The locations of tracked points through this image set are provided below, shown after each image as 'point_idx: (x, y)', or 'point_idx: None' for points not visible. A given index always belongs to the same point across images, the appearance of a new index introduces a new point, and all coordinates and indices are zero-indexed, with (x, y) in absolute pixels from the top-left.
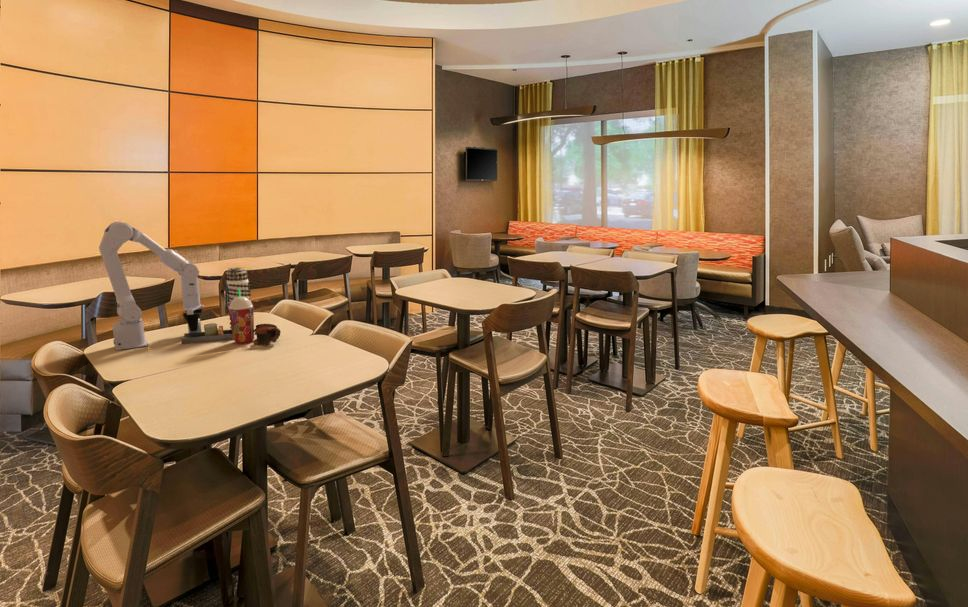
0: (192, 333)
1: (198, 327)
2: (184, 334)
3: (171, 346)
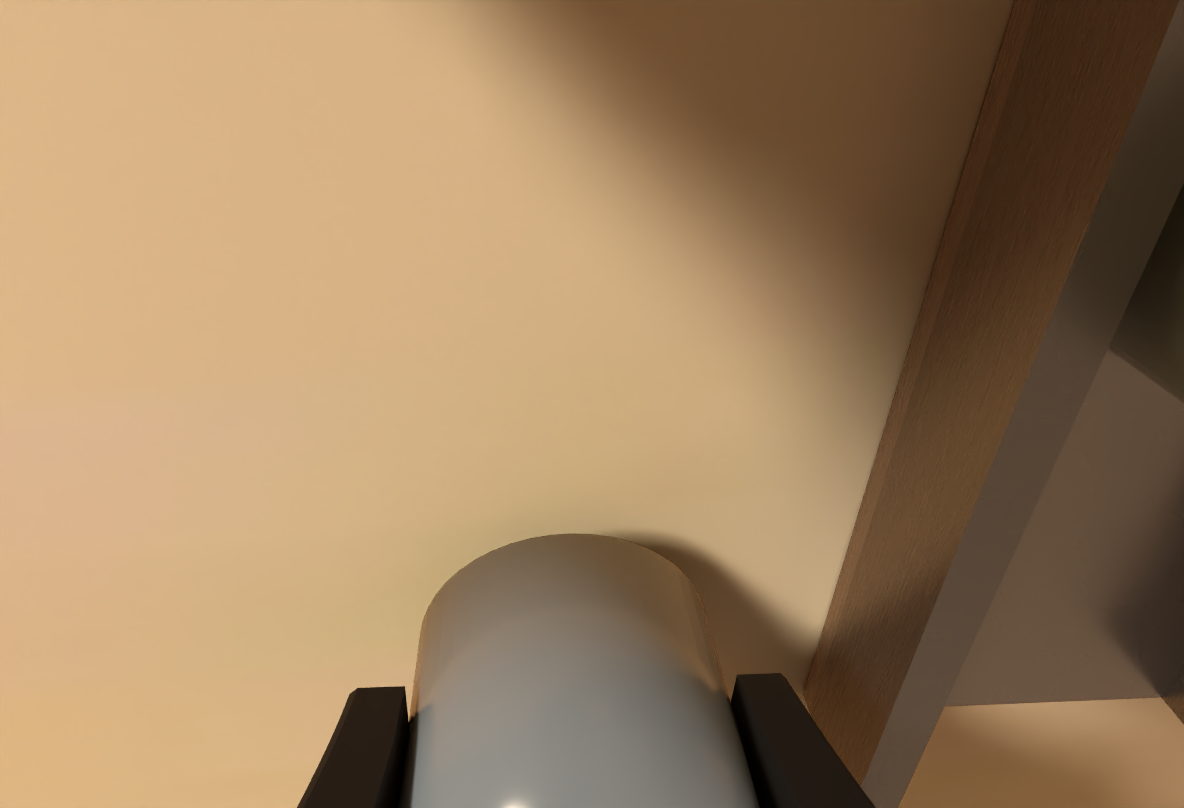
0: (942, 700)
1: (714, 710)
2: (891, 797)
3: (1136, 770)
